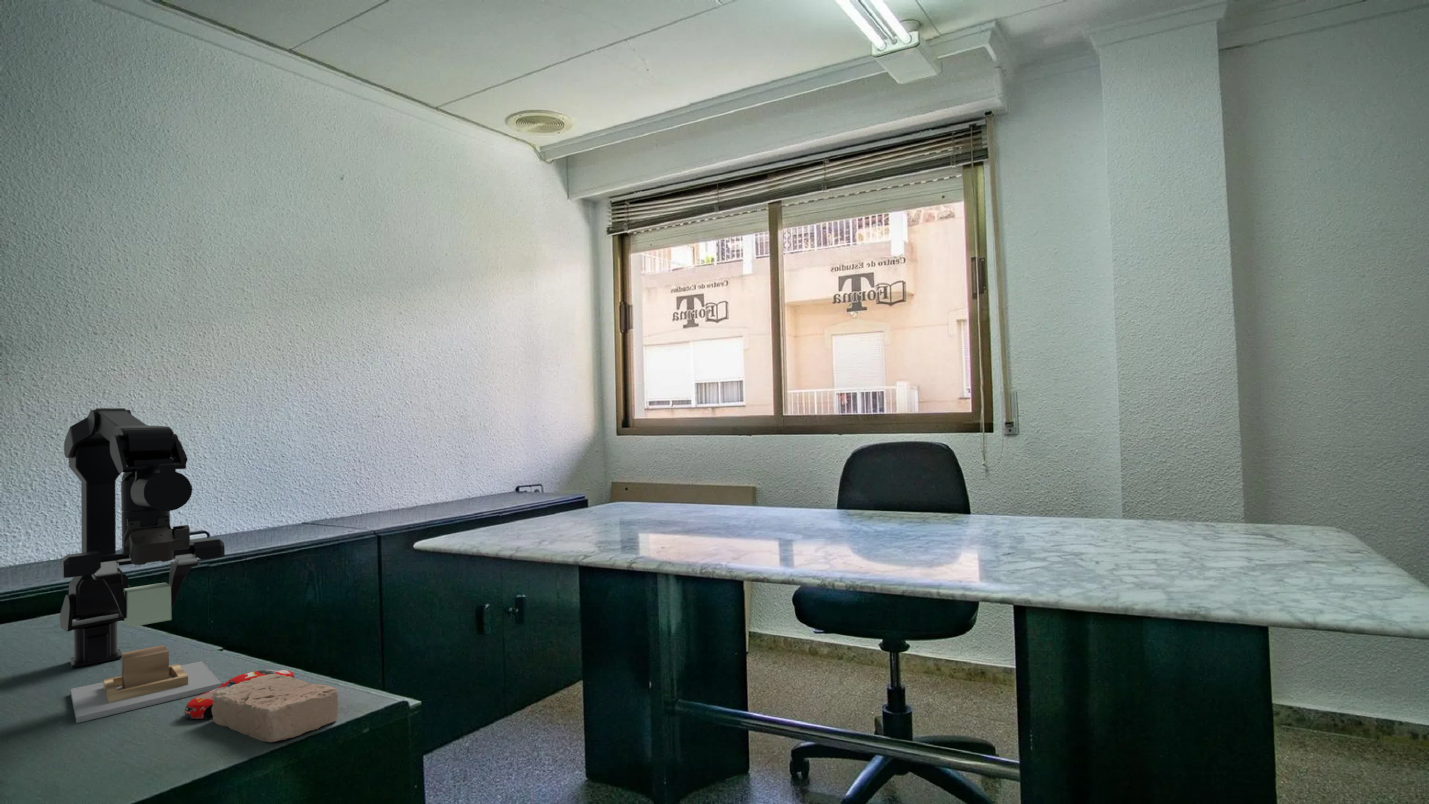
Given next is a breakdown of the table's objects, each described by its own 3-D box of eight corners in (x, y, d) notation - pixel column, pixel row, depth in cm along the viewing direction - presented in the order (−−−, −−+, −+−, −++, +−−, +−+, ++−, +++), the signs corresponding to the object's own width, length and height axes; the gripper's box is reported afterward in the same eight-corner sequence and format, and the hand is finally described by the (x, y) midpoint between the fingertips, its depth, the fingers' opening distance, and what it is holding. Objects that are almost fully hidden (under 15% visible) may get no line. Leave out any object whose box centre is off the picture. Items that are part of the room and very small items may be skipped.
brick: (207, 724, 92) (207, 687, 93) (275, 701, 100) (274, 667, 100) (273, 750, 84) (272, 710, 84) (342, 724, 91) (341, 687, 91)
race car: (191, 727, 92) (190, 696, 92) (179, 717, 95) (178, 687, 95) (301, 694, 102) (301, 666, 102) (287, 686, 105) (287, 659, 105)
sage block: (124, 622, 106) (123, 588, 106) (166, 614, 109) (165, 582, 110) (128, 627, 102) (127, 592, 103) (171, 619, 106) (170, 586, 106)
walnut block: (122, 687, 105) (121, 653, 105) (164, 677, 109) (164, 644, 109) (125, 695, 101) (125, 659, 102) (169, 685, 105) (168, 651, 105)
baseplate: (70, 694, 105) (70, 680, 105) (201, 665, 116) (201, 653, 116) (76, 723, 94) (76, 707, 94) (221, 688, 105) (221, 674, 105)
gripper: (65, 520, 94) (66, 638, 94) (231, 504, 108) (233, 608, 107) (61, 516, 102) (62, 625, 101) (216, 502, 115) (218, 598, 115)
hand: (147, 614), depth 106 cm, fingers closed on sage block, 5 cm apart
